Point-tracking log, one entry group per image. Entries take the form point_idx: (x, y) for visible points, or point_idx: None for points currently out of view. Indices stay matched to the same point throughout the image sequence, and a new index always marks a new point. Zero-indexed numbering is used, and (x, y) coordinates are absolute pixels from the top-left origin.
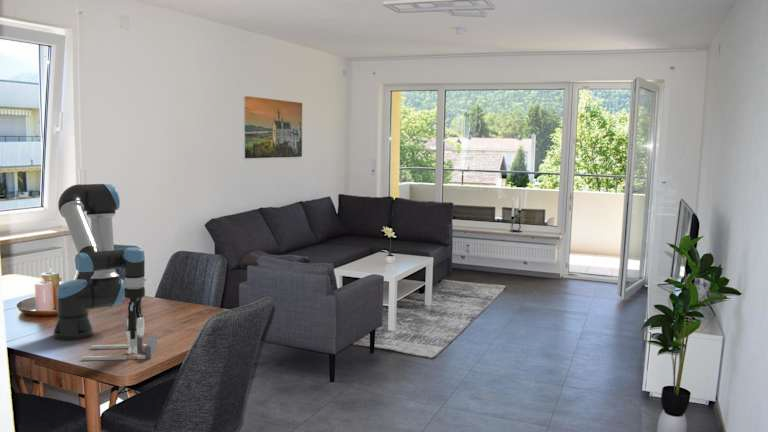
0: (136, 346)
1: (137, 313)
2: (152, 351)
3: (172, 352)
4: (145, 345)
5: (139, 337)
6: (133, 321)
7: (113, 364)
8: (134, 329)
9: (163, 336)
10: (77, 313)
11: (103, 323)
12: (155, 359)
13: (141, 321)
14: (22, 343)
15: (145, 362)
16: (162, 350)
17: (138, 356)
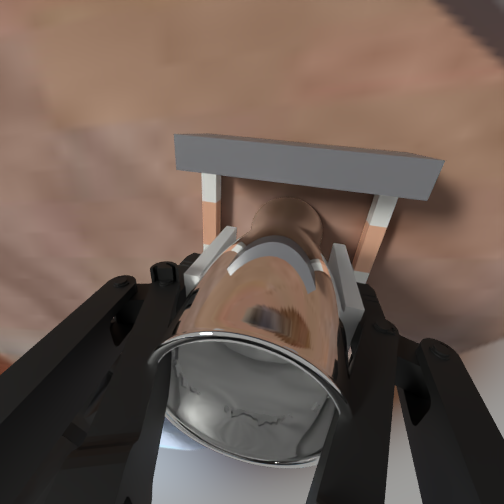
0: (345, 247)
1: (156, 398)
2: (347, 147)
3: (332, 3)
4: (217, 193)
5: (320, 251)
6: (500, 469)
7: (415, 309)
8: (457, 358)
9: (59, 111)
10: (69, 453)
11: (7, 315)
12: (437, 120)
13: (318, 324)
14: (171, 441)
15: (465, 178)
16: (275, 90)
17: (388, 220)
